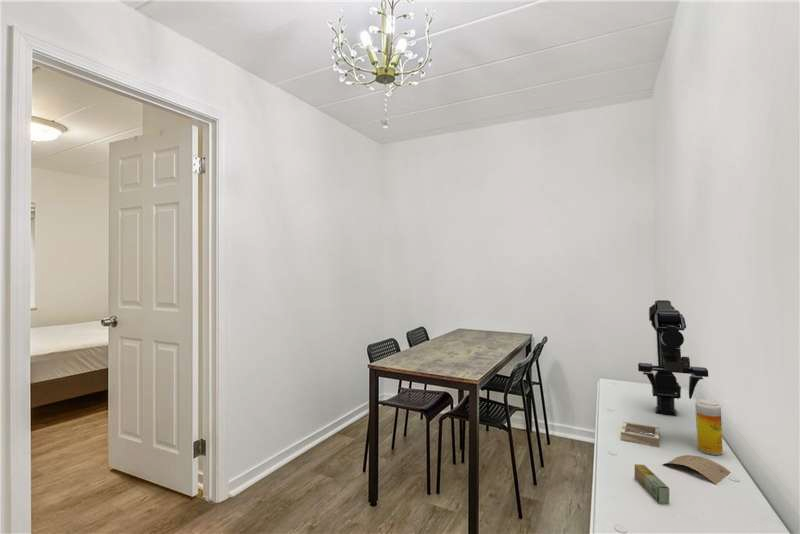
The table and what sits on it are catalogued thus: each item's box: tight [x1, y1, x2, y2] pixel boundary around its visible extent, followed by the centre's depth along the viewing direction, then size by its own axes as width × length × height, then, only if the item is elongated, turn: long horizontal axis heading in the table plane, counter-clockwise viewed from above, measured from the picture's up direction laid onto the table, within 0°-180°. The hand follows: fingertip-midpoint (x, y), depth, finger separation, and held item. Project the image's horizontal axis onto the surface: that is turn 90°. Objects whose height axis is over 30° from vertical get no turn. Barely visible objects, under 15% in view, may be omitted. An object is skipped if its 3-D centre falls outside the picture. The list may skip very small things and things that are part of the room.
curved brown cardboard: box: [665, 454, 732, 485], centre depth 109 cm, size 14×10×3 cm
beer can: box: [694, 398, 724, 456], centre depth 119 cm, size 6×6×15 cm
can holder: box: [620, 421, 660, 447], centre depth 130 cm, size 10×10×2 cm
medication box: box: [634, 464, 670, 505], centre depth 100 cm, size 12×3×4 cm, turn 174°
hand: (672, 396), depth 128 cm, fingers open, 9 cm apart
